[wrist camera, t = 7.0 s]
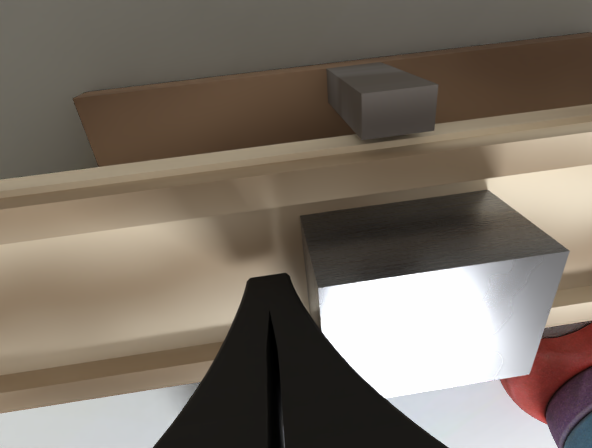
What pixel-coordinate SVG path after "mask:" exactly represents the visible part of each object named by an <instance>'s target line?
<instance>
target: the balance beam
mask: <svg viewBox="0 0 592 448" xmlns="http://www.w3.org/2000/svg"><path fill="white" fill-rule="evenodd" d="M481 190H489V191H490V192H492V193H493V194H494V195H496V196H497V197H498V198H500V199H501V200H502V201H504V202H505V203H507V204H508V205H509V206H511V207H512V208H513V209H515V210H516V211H517V212H519V213H520V214H521V215H523V216H524V217H525V218H527V219H528V220H529V221H531V222H532V223H533V224H535V225H536V226H537V227H539V228H540V229H541V230H543V231H544V232H545V233H547V234H548V235H549V236H551V237H552V238H553V239H555V240H556V241H557V242H559V243H560V244H561V245H563V246H564V247H565V248H567V249H568V250H569V251H570V252H569V255H568V258H567V262H566V265H565V268H564V271H563V274H562V277H561V280H560V283H559V286H558V289H557V292H556V295H555V298H554V301H553V304H552V307H551V310H550V313H549V316H548V319H547V323H546V326H545V328H547V327H553V326H560V325H566V324H572V323H579V322H585V321H591V320H592V104H588V105H580V106H573V107H565V108H557V109H549V110H541V111H533V112H526V113H518V114H510V115H502V116H494V117H486V118H479V119H471V120H463V121H455V122H447V123H439V124H435V128H434V131H429V132H421V133H414V134H406V135H398V136H391V137H383V138H375V139H367V140H361V139H360V138H359V136H358V135H357V134H353V135H346V136H338V137H330V138H322V139H314V140H306V141H299V142H291V143H283V144H275V145H267V146H259V147H252V148H244V149H236V150H228V151H220V152H212V153H205V154H197V155H189V156H181V157H173V158H165V159H158V160H150V161H142V162H134V163H126V164H119V165H111V166H103V167H95V168H87V169H79V170H72V171H64V172H56V173H48V174H40V175H32V176H25V177H17V178H9V179H1V180H0V413H6V412H12V411H19V410H25V409H31V408H38V407H44V406H51V405H57V404H63V403H70V402H76V401H82V400H89V399H95V398H101V397H108V396H114V395H120V394H127V393H133V392H140V391H146V390H152V389H159V388H165V387H171V386H178V385H184V384H190V383H197V382H201V381H202V379H203V378H204V376H205V375H206V373H207V371H208V370H209V368H210V366H211V364H212V363H213V361H214V359H215V357H216V355H217V353H218V351H219V349H220V347H221V345H222V344H223V342H224V340H225V338H226V336H227V334H228V331H229V329H230V327H231V325H232V322H233V320H234V318H235V315H236V313H237V311H238V308H239V305H240V303H241V300H242V297H243V294H244V290H245V287H246V283H247V281H248V280H249V278H253V277H259V276H266V275H273V274H280V273H287V274H288V275H290V279H291V281H292V284H293V286H294V288H295V290H296V292H297V294H298V296H299V298H300V300H301V301H302V303H303V305H304V306H305V308H306V309H307V311H308V312H309V314H310V310H309V300H308V291H307V281H306V271H305V262H304V252H303V242H302V232H301V223H300V215H307V214H314V213H322V212H329V211H336V210H343V209H351V208H358V207H365V206H372V205H380V204H387V203H394V202H401V201H409V200H416V199H423V198H430V197H438V196H445V195H452V194H459V193H467V192H474V191H481Z"/></svg>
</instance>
